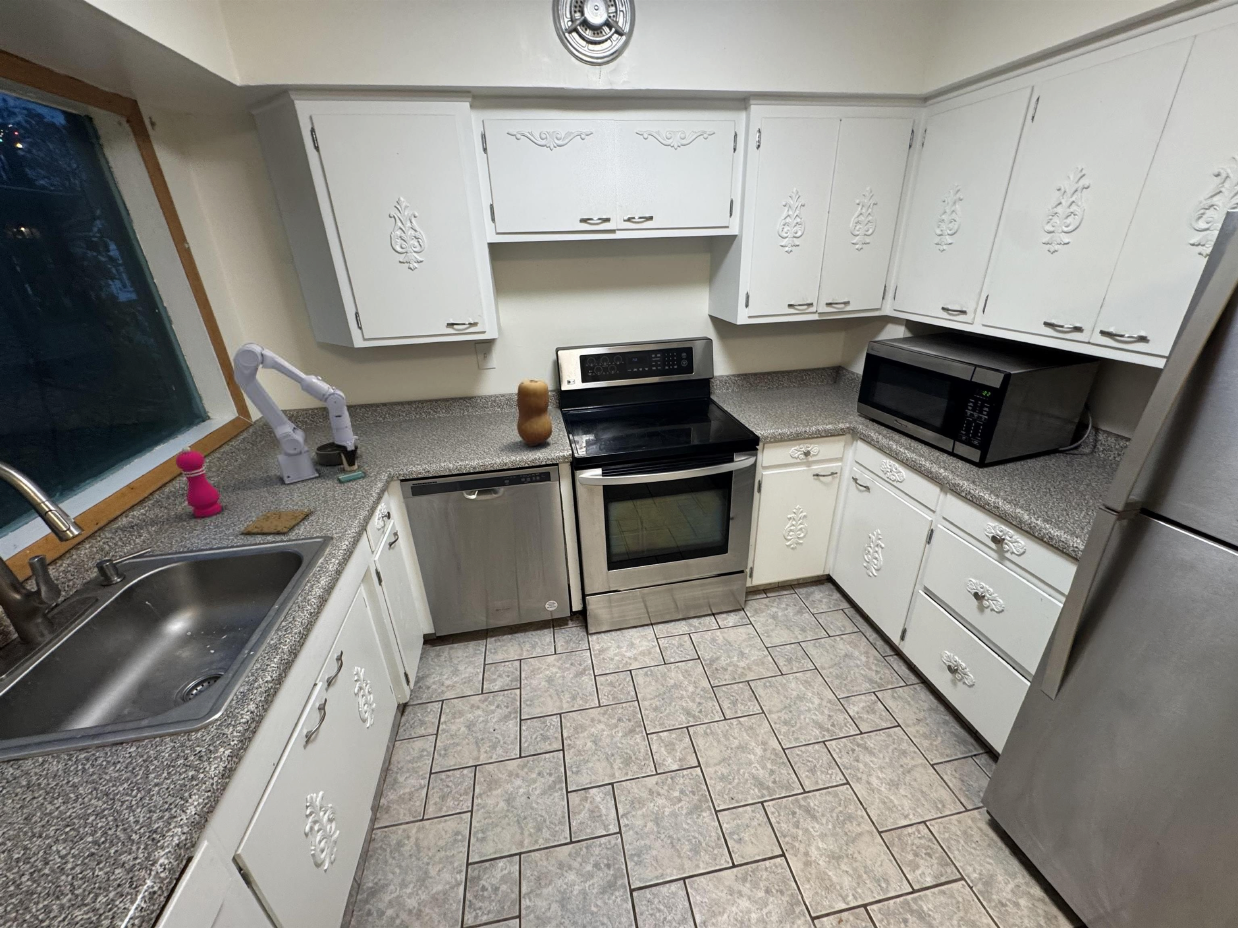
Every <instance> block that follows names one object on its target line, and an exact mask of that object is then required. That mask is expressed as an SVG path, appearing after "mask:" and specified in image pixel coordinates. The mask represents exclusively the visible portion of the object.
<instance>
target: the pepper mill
mask: <svg viewBox="0 0 1238 928" xmlns="http://www.w3.org/2000/svg"><path fill="white" fill-rule="evenodd" d="M204 464H205V458H204V456H203V454H202V453H200V452H198V451H194V450H191V448H190V447H189V446H183V447H182V448H181V453H180V454H178V455H177V456H176V458H175V465H176V467H178V468H179V469H180V470H181V473H182V476H183V477H185V478H186V480H187V483H188V487H187V488H188V489H187V493H186V501H187V505H189V506H190V507H192V508H193V509H192V512H193V515H194V517H197V518H205V517H209V516H213V515H217V514H218V513H220V512H221V511H222V509H223V508H222V506H221V503H220V502H219V500H220V497H221V496H220V493H219V491H218V490H217V489H216V488H215V487H214V486H213V485H211V483H210V482H209V481H208V479H207V477H206V474H205V473H206V471H207V470H206V467H205V466H203V465H204Z"/></svg>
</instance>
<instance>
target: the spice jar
mask: <svg viewBox="0 0 1238 928" xmlns="http://www.w3.org/2000/svg"><path fill="white" fill-rule="evenodd" d="M340 453H341V451H340ZM341 455H342V460H343V463H342V464H343V468H344V471H347V472H351V471H354V470H357V469H358V463H357V461H356V464H355V466H351V467H349V466H348V465H347V463H346V460H345V458H344V456H343V454H342V453H341Z"/></svg>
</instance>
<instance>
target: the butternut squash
mask: <svg viewBox="0 0 1238 928" xmlns="http://www.w3.org/2000/svg"><path fill="white" fill-rule="evenodd" d="M516 396H517V397H516V406H517V409H518V418H517V424H516V429H517V430H516V431H517V433H518V436H519V437H520V439H521V440H522V441H523V442H525V443H526V444H527V445H529V446H530V447H534V446H538V445H542V444H543V443H545V442H546V441H549V439H550V438H551V437H552V434H553V425H552V421H551V418H550V415H549V411H548V410H549V403H550V391H549V386H548V384H547V382H546V381H544V380H542V379H531V378H526V379H523V380H522V381H521V382H519V384H518V386H517V392H516Z"/></svg>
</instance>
